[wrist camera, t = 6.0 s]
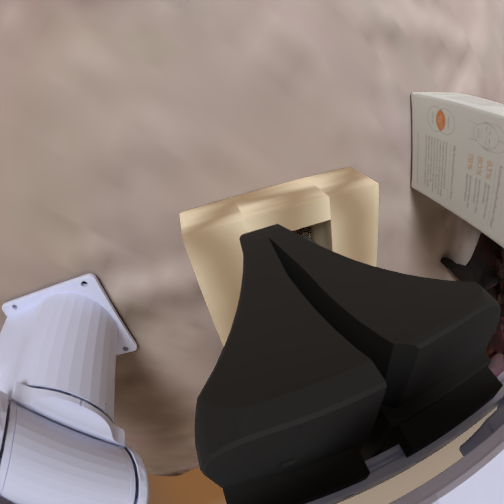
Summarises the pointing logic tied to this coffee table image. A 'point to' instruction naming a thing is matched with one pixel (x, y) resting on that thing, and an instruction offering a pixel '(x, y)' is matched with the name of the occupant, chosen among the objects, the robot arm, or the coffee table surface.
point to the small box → (461, 157)
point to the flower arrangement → (487, 289)
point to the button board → (287, 215)
